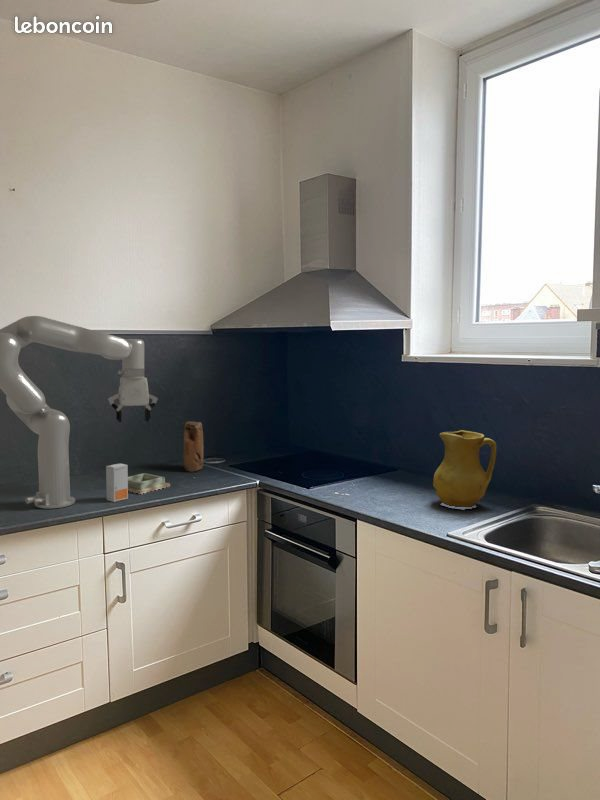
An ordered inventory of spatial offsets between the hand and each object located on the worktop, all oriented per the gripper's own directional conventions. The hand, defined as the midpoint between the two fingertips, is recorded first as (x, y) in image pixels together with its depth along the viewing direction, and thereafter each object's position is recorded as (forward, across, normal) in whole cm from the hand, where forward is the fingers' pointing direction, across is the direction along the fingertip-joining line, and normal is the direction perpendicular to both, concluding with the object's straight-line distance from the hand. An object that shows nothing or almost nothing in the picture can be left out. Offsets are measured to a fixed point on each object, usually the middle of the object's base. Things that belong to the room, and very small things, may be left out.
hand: (133, 421), depth 224 cm
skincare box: (+26, -7, -10) cm, 29 cm away
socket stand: (+25, +4, +3) cm, 26 cm away
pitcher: (+24, +94, -67) cm, 118 cm away
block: (+25, +30, +25) cm, 46 cm away
